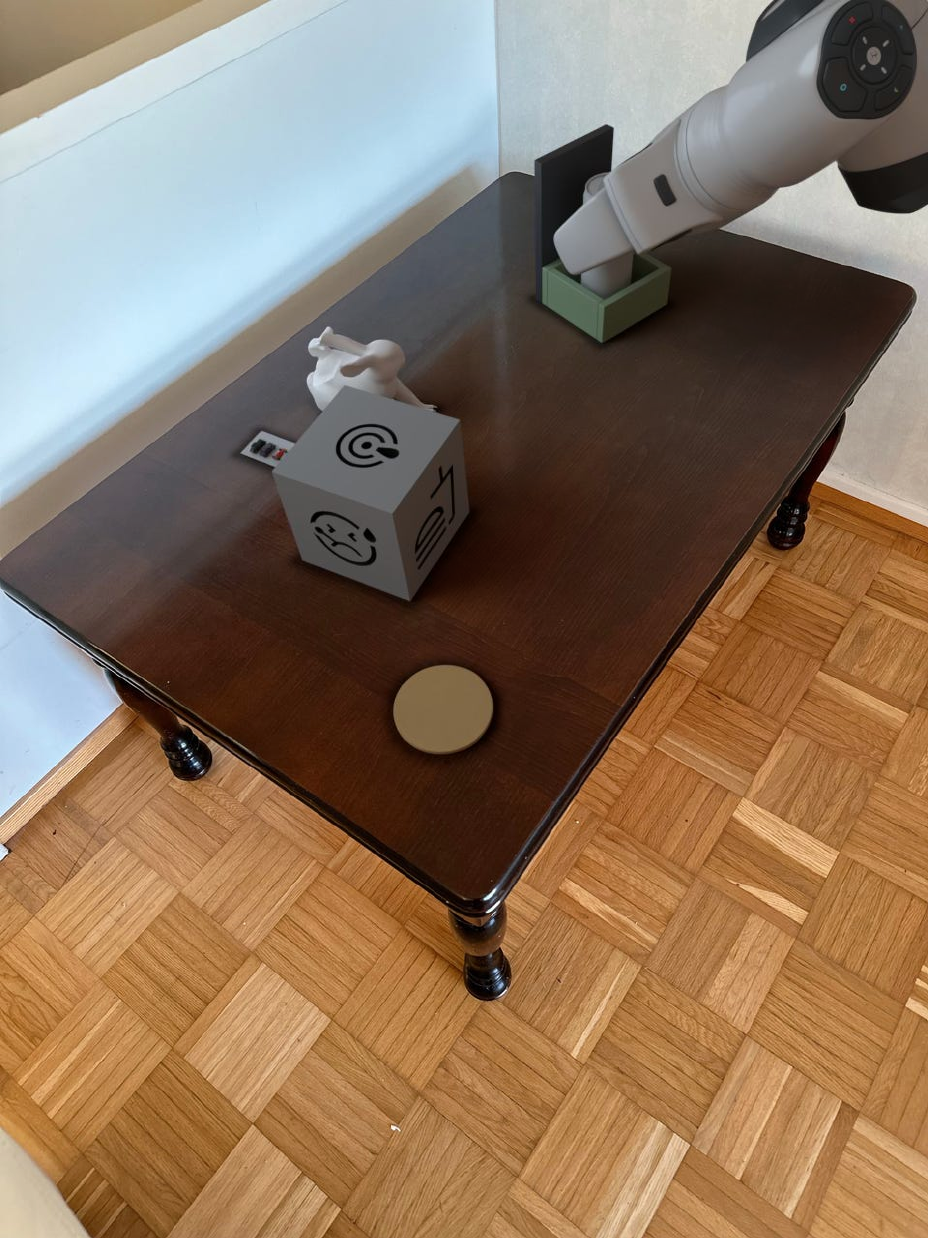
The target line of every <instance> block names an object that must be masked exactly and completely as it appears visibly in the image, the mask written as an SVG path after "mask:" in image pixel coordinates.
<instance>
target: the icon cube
mask: <svg viewBox="0 0 928 1238" xmlns="http://www.w3.org/2000/svg"><path fill="white" fill-rule="evenodd" d="M393 399H394V398H393ZM393 399H389V398H386V397H383V396H379V395H376V394H373V393H369V392H366V391H363V390H360V389H356V388H353V387H350V386H346V385H344V387H343V388H342V389H341V390H340V391H339V392H338V394H337V395H336V396H335V397H334V398H333V400H332V401H331V402H330V403H329V404H328V405H327V407H326V408H325V409H324V410H323V411H321V413H320V414H319V415H318V416H317V417H316V418H315V419H314V421H313V422H312V423H311V425H310V426H309V427H308V428H307V429H306V430H305V431H304V433H303V434H302V435H301V436H300V437H299V438H298V440H297V441H296V442H294V443H295V445H294V446H293V447H292V448H291V449H290V450H289V452H288V453H287V454H286V455H285V456H284V458H283V459H282V460H281V461H280V462H279V464H278V465H277V466H276V467H274V468H273V469H272V470H271V474H272V477H273V480H274V483H275V486H276V489H277V492H278V494H279V497H280V499H281V500H280V501H281V504H282V507H283V509H284V512H285V515H286V517H287V520H288V523H289V526H290V529H291V532H292V535H293V538H294V541H295V543H296V544H295V545H296V546H297V549H298V552H299V555H300V558H301V561H303V562H306V563H309V564H311V565H314V566H316V567H320V568H322V569H325V570H327V571H330V572H332V573H335V574H337V575H340V576H343V577H346V578H348V579H351V580H353V581H356V582H358V583H361V584H364V585H366V586H369V587H372V588H374V589H377V590H379V591H382V592H384V593H387V594H389V595H393V596H395V597H398V598H401V599H404V600H406V601H408V602H411V601H412V600H413V597H414V596H415V595H416V594H417V592H418V591H419V589H420V587H421V586H422V584H423V583H424V581H425V580H426V578H427V576H428V575H429V574H430V573H431V571H432V569H433V568H434V567H435V564H436V563H437V562H438V560H439V558H440V557H441V556H442V555H443V553H444V551H445V549H446V548H447V546H448V545H449V544H450V542H451V540H452V539H453V537H454V536H455V534H456V533H457V531H458V530H459V528H460V527H461V525H462V524H463V522H464V521H465V520H466V518H467V516H468V515H469V513H470V505H469V495H468V494H469V493H468V484H467V483H468V482H467V474H466V465H465V455H464V444H463V435H462V425H461V419H459V418H457V417H456V418H455V417H452V416H449V415H447V414H446V415H445V414H442V413H440V412H437V411H436V412H432V411H429V410H426V409H423V408H419V407H416V406H413V405H409V404H406V403H403V402H400V401H398V400H397V399H394V400H393Z"/></svg>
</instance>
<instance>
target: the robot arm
mask: <svg viewBox="0 0 928 1238" xmlns="http://www.w3.org/2000/svg"><path fill="white" fill-rule="evenodd" d="M835 162H836V164H837V169H838V171H839V172H840V175H841V176H842V179H843V180H844V183H845V184H846V186H847V187H848V189H849V192H850V193H851V195H852V197H853V199H854V201H855V203H856V205H857V206H858V207H860V208H863V209H867V210H871V211H875V212H880V213H886V214H895V215H896V214H898V215H908V214H913V213H915V212H917V211H921V210H922V209H923V208H925V207H926V206H928V0H772V1H771V2H770V3H769V4H768V5H766V7H765V8H764V9H763V10H762V12H761V13H760V14H759V16H758V17H757V19H756V20H755V23H754V26H753V29H752V32H751V35H750V38H749V42H748V46H747V49H746V55H745V62H744V63H743V64H742V65H741V66H740V67H739V68H738V69H737V71H736V72H735V73H734V74H733V76H732V77H731V79H730V80H729V82H728V83H727V84H725V85H723V86H719V87H717V88H715V89H712V90H711V91H709V92H707V93H706V94H704V95H703V96H702V97H701V98H699V99H698V100H697V101H695V102H694V103H693V104H692V105H690V106H689V107H688V108H686V109H685V111H683V112H682V113H681V114H680V115H678V116H677V117H675V119H673V120H672V121H670V122H669V123H668V124H667V125H665V127H664V128H662V130H661V131H659V132H658V133H657V134H656V135H655V136H654V138H652V140H650V142H649V143H648V144H647V145H646V146H645V147H643V148H642V149H641V150H640V151H638V152H636V153H634V154H633V155H632V156H630V157H629V158H627V159H625V160H623V161H622V162H621V163H620V164H618V165H617V166H616V167H614V168H613V169H611V172H609V173H608V174H607V175H606V176H605V177H604V179H603V182H604V185H605V187H604V188H603V189H601V190H600V191H599V192H598V193H596V194H595V195H594V196H593V197H591V198H590V199H589V200H588V201H587V202H586V203H585V204H584V205H583V206H581V207H580V208H579V209H578V210H577V211H576V212H575V213H574V214H573V215H572V216H571V217H570V218H569V219H568V220H567V221H566V222H565V223H564V224H563V225H562V226H561V227H560V228H559V229H558V230H557V231H556V233H555V235H554V244H555V247H556V250H557V252H558V254H559V256H560V259H561V260H562V262H563V264H564V266H565V267H566V269H567V270H568V272H569V273H571V274H573V275H578V274H582V273H584V272H587V271H589V270H592V269H594V268H597V267H599V266H601V265H604V264H606V263H608V262H611V261H613V260H615V259H617V258H620V257H622V256H624V255H627V254H629V253H631V252H633V251H636V252H637V254H639V255H642V254H644V253H646V254H647V253H648V252H650V251H651V252H652V251H655V250H656V249H658V248H660V247H662V246H664V245H666V244H669V243H671V242H674V241H677V240H679V239H681V238H686V237H691V236H697V235H699V234H702V233H711V232H715V231H717V230H720V229H722V228H723V227H725V226H727V225H729V224H730V223H732V222H734V221H736V220H738V219H739V218H741V217H743V216H744V215H746V214H748V213H750V212H751V211H753V210H755V209H756V208H758V207H760V206H762V205H764V204H765V203H767V202H768V201H769V200H770V199H771V198H772V197H773V196H774V195H775V194H777V192H778V191H779V190H780V189H783V188H788V187H793V186H795V185H798V184H800V183H802V182H805V181H806V180H808V179H809V178H811V177H813V176H815V175H816V174H818V173H820V172H821V171H824V169H826V168H827V167H829V166H831V165H832V164H833V163H835Z"/></svg>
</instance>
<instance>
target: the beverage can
mask: <svg viewBox="0 0 928 1238" xmlns="http://www.w3.org/2000/svg"><path fill="white" fill-rule="evenodd" d="M608 173H609V172H608ZM608 173H602V174H598V175H596V176H594V177H592V178H590V179H589V180H588V181H587V183H586V185H585V191H584V194H583V205H584V204H585V203H586V202H587V201H588V200H589V199H590V198H591V197H593V196H594V195H595V194H596V193H598V192H599V191H600V190H601V189H603V188H604V187H605V185H604V182H603V179H604V177H605V176H606V175H607V174H608ZM633 252H634V251H633ZM633 252H631V253H629V254H627V255H624V256H622V257H620V258H617V259H615V260H613V261H611V262H608V263H606V264H604V265H601V266H599V267H597V268H594V269H592V270H589V271H587V272H584V273H582V274H581V285H582V286H583V287H585V288H586V289H588V290H590V291H591V292H593V293H594V294H596V295H597V296H599V297H601V298H602V299H604V300H606V299H608V298H609V297H611V296H613V295H615V294H616V293H618V292H620V291H621V290H623V289H625V288H627V287H628V286H630V285H631V275H632V264H633Z"/></svg>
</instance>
